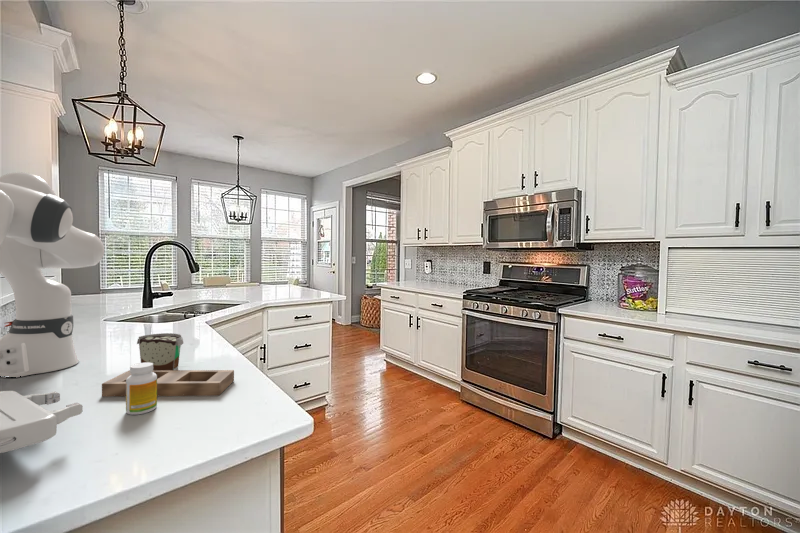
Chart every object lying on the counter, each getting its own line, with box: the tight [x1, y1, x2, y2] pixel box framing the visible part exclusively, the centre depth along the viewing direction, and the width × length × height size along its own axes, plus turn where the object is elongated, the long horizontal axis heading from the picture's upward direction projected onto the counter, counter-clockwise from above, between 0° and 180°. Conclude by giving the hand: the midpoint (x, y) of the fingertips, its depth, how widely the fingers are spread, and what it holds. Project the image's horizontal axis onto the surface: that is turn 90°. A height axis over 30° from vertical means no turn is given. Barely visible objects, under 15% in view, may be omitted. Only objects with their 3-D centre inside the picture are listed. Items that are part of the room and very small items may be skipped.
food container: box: [136, 332, 184, 370], centre depth 100 cm, size 12×6×10 cm, turn 84°
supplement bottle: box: [125, 362, 158, 416], centre depth 76 cm, size 5×5×10 cm
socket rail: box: [101, 369, 235, 398], centre depth 88 cm, size 26×9×3 cm, turn 96°
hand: (69, 401), depth 65 cm, fingers open, 8 cm apart
